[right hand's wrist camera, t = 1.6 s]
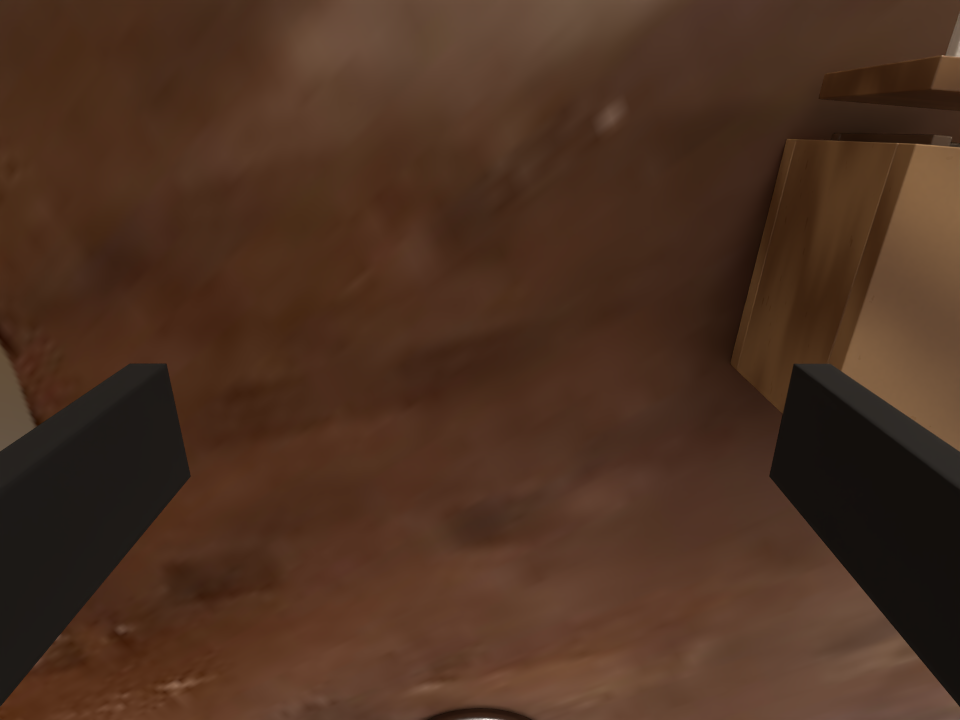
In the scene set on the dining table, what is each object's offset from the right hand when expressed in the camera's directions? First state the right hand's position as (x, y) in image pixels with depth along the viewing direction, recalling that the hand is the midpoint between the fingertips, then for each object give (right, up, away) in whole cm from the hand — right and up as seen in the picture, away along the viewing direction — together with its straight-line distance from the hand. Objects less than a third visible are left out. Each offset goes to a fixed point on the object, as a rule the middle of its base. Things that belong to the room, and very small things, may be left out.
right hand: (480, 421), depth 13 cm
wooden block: (+22, +7, +22) cm, 32 cm away
